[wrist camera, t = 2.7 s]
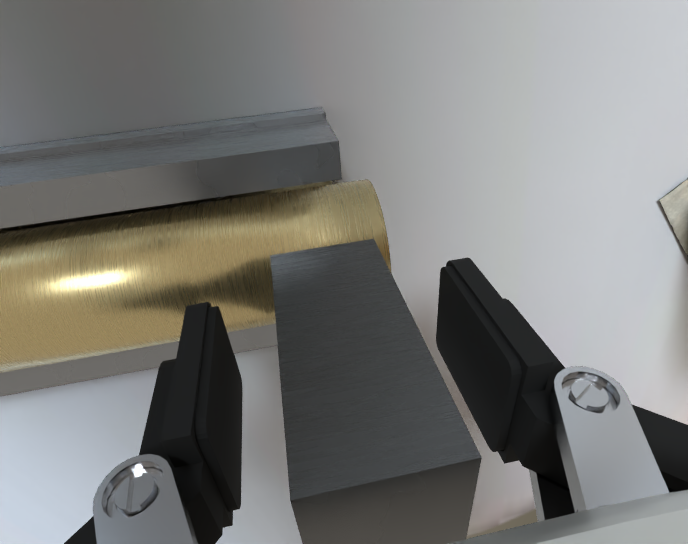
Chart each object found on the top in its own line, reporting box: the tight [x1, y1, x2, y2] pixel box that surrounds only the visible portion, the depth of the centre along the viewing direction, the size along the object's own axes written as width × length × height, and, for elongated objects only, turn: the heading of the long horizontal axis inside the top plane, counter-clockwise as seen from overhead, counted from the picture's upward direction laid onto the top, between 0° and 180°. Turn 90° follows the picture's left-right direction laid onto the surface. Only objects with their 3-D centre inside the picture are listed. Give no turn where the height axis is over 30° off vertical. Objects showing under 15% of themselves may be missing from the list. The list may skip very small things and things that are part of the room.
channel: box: [0, 107, 342, 396], centre depth 15 cm, size 8×18×3 cm, turn 94°
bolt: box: [0, 179, 481, 544], centre depth 11 cm, size 4×20×11 cm, turn 94°
